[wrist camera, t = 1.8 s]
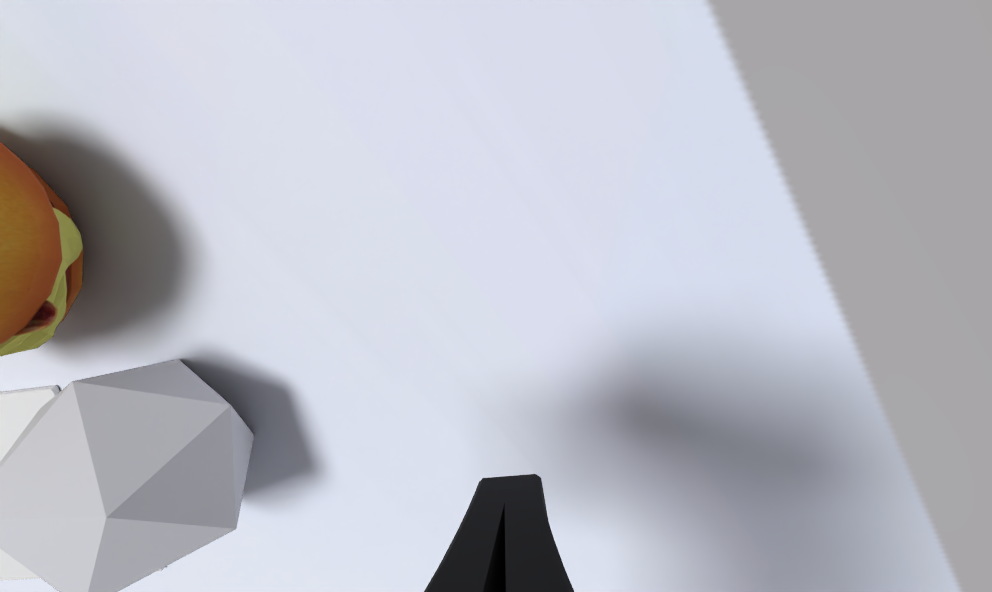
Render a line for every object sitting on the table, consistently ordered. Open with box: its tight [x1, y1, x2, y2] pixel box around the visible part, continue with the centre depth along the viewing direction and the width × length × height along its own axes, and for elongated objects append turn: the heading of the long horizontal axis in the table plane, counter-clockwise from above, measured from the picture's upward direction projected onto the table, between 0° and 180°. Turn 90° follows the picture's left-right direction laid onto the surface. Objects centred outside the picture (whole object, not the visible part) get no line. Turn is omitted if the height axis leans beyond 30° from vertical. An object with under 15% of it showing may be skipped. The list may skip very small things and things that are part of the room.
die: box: [0, 359, 254, 592], centre depth 20 cm, size 8×9×10 cm
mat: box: [0, 385, 164, 581], centre depth 26 cm, size 13×12×1 cm
